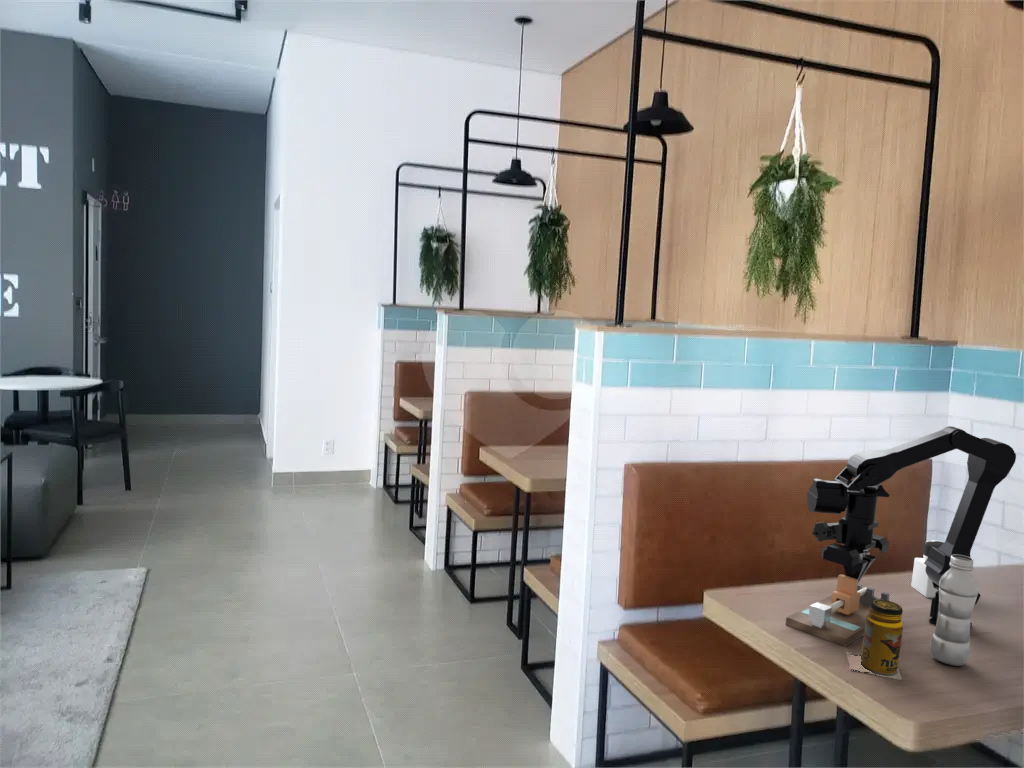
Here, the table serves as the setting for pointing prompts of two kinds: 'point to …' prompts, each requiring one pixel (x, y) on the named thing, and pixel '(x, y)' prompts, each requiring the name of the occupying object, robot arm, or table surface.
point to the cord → (842, 602)
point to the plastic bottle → (955, 612)
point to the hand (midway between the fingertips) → (851, 588)
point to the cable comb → (871, 595)
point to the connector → (819, 615)
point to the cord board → (833, 623)
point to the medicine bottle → (924, 572)
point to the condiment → (882, 639)
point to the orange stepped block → (846, 594)
